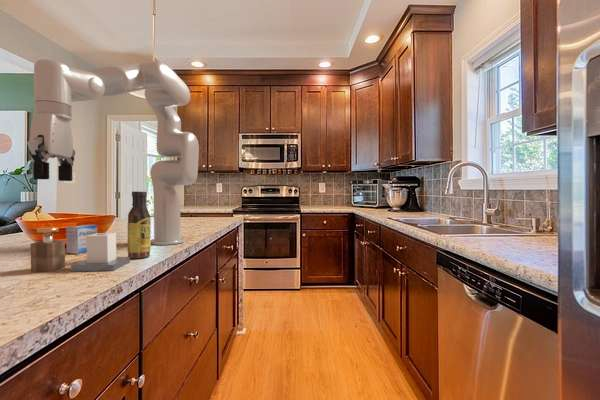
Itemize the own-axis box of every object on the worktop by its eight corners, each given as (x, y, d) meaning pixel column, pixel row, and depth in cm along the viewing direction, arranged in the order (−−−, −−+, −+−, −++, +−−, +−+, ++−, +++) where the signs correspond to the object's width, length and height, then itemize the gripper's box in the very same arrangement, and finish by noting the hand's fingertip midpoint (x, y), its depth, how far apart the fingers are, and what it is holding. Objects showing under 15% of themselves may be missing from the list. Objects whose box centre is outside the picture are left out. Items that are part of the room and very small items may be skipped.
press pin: (44, 252, 85) (44, 227, 85) (62, 252, 86) (62, 227, 86) (32, 255, 81) (32, 229, 81) (51, 255, 82) (51, 229, 81)
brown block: (44, 267, 86) (44, 240, 86) (65, 266, 86) (64, 240, 86) (31, 271, 81) (30, 243, 81) (52, 271, 81) (52, 243, 81)
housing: (96, 259, 89) (96, 233, 89) (116, 258, 90) (115, 232, 89) (87, 263, 84) (86, 235, 84) (107, 262, 85) (107, 235, 84)
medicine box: (77, 254, 104) (77, 227, 103) (66, 253, 105) (65, 226, 104) (98, 250, 111) (97, 224, 111) (86, 249, 112) (86, 224, 112)
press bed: (92, 262, 91) (92, 257, 91) (130, 262, 92) (129, 256, 92) (70, 271, 81) (70, 265, 81) (113, 270, 82) (113, 264, 82)
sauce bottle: (144, 259, 96) (143, 191, 95) (123, 259, 96) (122, 191, 95) (154, 255, 102) (154, 191, 102) (134, 255, 102) (134, 191, 102)
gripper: (58, 119, 91) (58, 181, 91) (11, 102, 74) (12, 178, 74) (87, 120, 92) (87, 181, 92) (47, 103, 75) (48, 178, 75)
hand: (54, 180), depth 83 cm, fingers open, 9 cm apart
